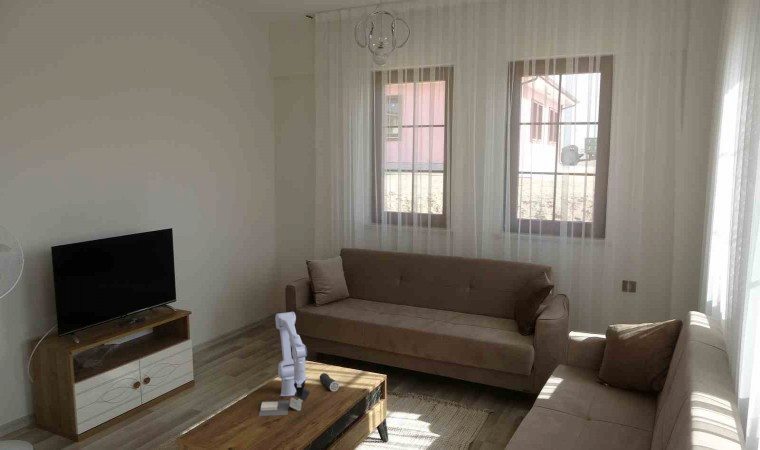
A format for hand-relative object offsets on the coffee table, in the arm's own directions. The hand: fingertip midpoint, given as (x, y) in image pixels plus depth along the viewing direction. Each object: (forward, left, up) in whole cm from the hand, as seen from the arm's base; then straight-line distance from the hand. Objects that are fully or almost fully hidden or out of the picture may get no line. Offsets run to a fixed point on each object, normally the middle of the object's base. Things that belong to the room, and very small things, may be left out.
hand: (299, 395), depth 286 cm
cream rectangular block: (0, -11, -5) cm, 12 cm away
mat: (0, -13, -7) cm, 15 cm away
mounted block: (0, +2, -3) cm, 4 cm away
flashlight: (-26, +15, -7) cm, 31 cm away
